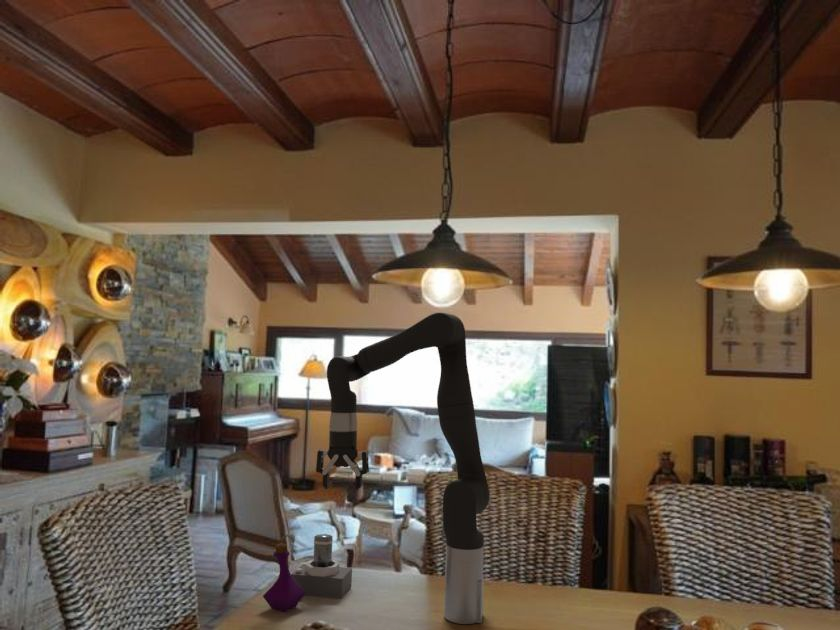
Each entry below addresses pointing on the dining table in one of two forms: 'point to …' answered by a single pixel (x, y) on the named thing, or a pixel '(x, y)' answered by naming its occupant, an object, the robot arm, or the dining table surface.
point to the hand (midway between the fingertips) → (342, 489)
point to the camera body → (323, 579)
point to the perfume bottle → (284, 582)
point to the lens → (323, 550)
